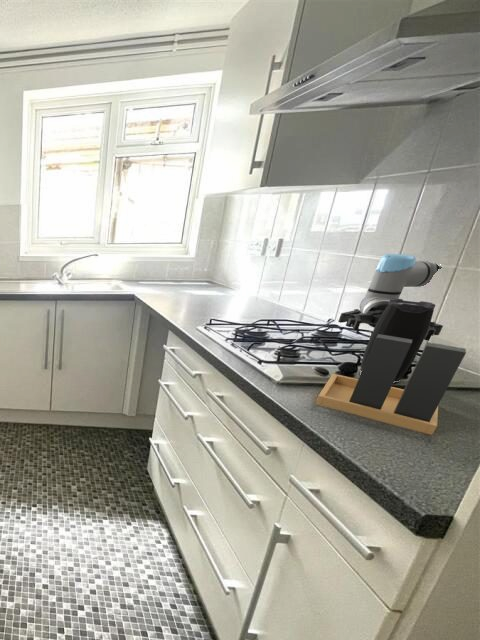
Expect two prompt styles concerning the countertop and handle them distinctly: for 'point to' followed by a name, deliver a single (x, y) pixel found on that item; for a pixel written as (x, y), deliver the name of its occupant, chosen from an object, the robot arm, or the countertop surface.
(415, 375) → the charcoal box
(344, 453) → the countertop surface
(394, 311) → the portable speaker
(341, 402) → the oak tray
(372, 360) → the charcoal box
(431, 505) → the countertop surface
